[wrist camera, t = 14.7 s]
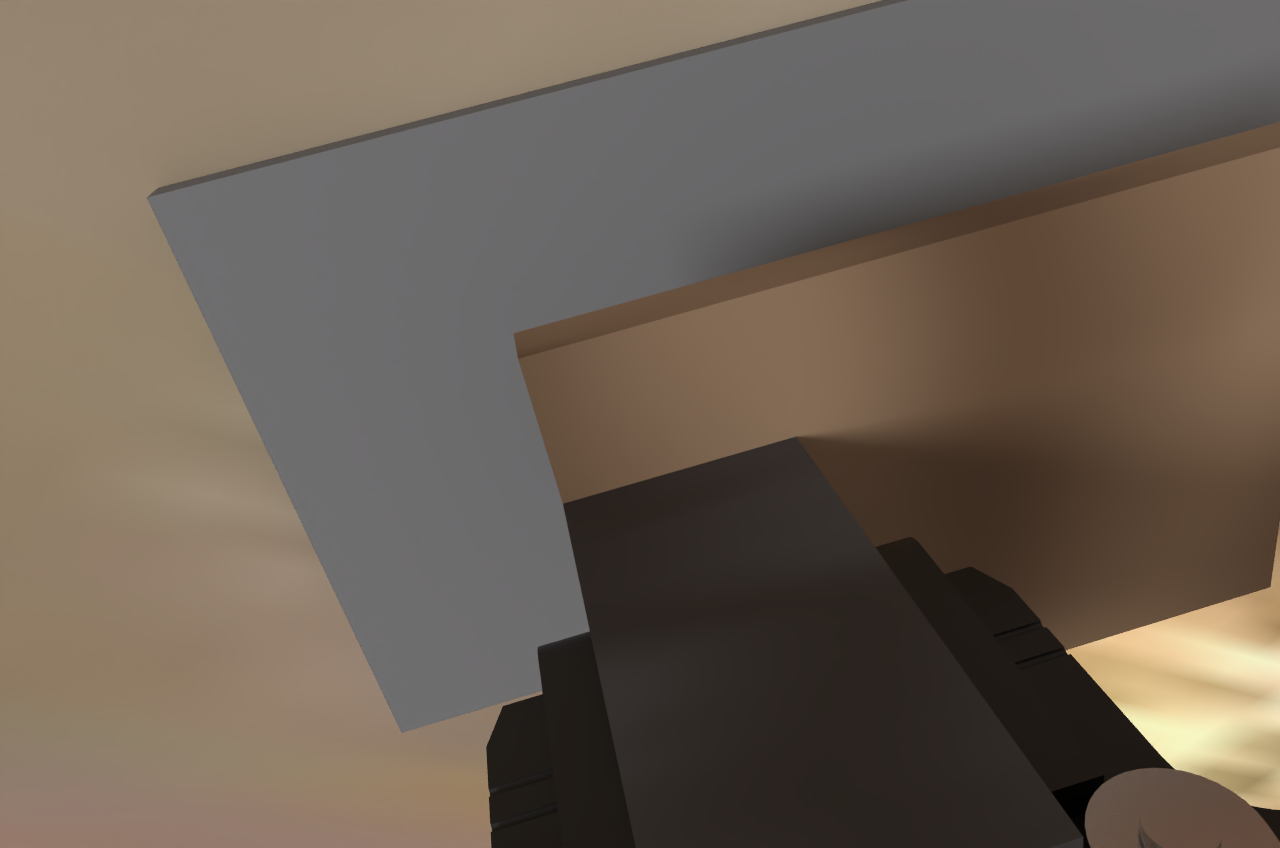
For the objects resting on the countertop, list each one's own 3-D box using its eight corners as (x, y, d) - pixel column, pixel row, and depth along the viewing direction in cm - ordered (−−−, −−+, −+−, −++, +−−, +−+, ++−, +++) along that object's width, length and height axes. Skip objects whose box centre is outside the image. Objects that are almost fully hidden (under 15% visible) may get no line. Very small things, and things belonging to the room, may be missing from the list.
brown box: (638, 739, 15) (771, 1286, 9) (513, 333, 11) (590, 767, 5) (1232, 557, 15) (1741, 951, 9) (1279, 122, 12) (2126, 296, 6)
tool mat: (403, 711, 19) (401, 732, 19) (157, 188, 14) (146, 197, 13) (1380, 418, 21) (1405, 431, 20) (1491, -158, 15) (1528, -161, 15)
